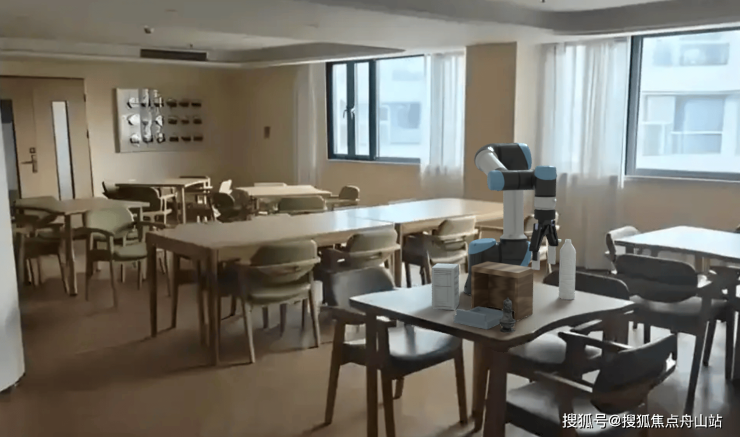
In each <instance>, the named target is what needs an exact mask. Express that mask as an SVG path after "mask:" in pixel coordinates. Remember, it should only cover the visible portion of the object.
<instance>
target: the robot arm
mask: <svg viewBox="0 0 740 437" xmlns="http://www.w3.org/2000/svg"><path fill="white" fill-rule="evenodd" d="M532 160H533V159H532V153H531V149H530V147H529V145H528V144H527V143H524V142H522V143H521V142H497V143H496V142H491V143H487V144H485V145H483V146H481V147H480V148H479V149H477V151H476V152H475V153H474V158H473V161H474V165H475V167H476V168H477V170H479V171H480V172H483V173H484V174H485V175H486V176H487V177H486V179H487V181H486V183H487V184H486V185H487V188H488V189H489V190H490V191H497V192H499V191H500V192H501V191H502V193H503V196H502V197H503V198H502V199H503V200H502V201H503V202H502V206H503V208H502V209H503V210H502V212H503V214H502V215H503V216H502V217H503V218H502V219H503V220H502V221H503V225H502V226H503V227H502V228H503V229H502V230H503V231H502V232H503V233H502V235H500V236H499V241H497V240H496V239H495V238H494V237H493V238H492V237H490V238H488V237H487V238H478V239H475V240H472V241H470V242H469V244H468V250H467V254H468V257H467V258H468V259H467V261H468V263H467V265H468V267H467V272H468V273H467V278H466V280H465V282H464V283H465V284H464V286H463V293H464V294H465V295H469V296H471V275H472V266H474V265H477V264H481V263H484V262H495V263H503V264H510V265H517V266H525V267H529V264H530V262H531V267H532V269H534V271H540V270H541V269H540V268H541V266H540V265H541V264H540V263H541V251H540V248H541V246H542V243H543V241H544V237H546V240H547V243H548V246H547V264H549V265H556V256H557V255H556V248H557V247H559V243H560V242H559V241H558V239H559V237H558V232H557V231H558V230H557V226H556V224H557V223H556V216H557V215H556V209H555V208H556V206H557V204H556V203H557V202H558V201H557V177H558V175H557V173H558V172H557V167H556V166H555V165H536V166H535V169H534V168H533V169H532V164H533V161H532ZM524 191H534V201H533V202H534V203H533V207H534V208H535V209H533V210H534V211H533V219H534V220H536V221H537V222H536V223H533V227H532V233H531V237H530V241H529V240H528V236H527V235H526V234H525V232H524V231H525V230H524V228H525V227H524V222H525V220H524V218H525V217H524V213H525V212H524V209H525V208H524V204H525V203H524V202H525V201H524V198H525V197H524V195H525V194H524V193H525V192H524Z"/></svg>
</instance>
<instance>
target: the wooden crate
mask: <svg viewBox="0 0 740 437" xmlns="http://www.w3.org/2000/svg"><path fill="white" fill-rule="evenodd" d="M534 271H535V270H534V269H532V266H531V267H530V266H527V267H525V266H517V265H510V264H503V263H495V262H484V263H481V264H477V265H474V266H472V275H471V295H470V296H471V298H470V309H473V308H475V307H478V306H479V307H485V308H489V307H490V308H493V309H495V308H496V309H498V310H499V309H500V310H502V309H503V302H504V300H506V299H507V297H508V298H509V300H511V302H512V310H513V311H512V312H514V318H513V319H514V320H517V321H520V320H522V319H525V318H526V316H527V317H529V316H531V315H533V314H534V311H533V307H534V273H535V272H534ZM517 321H516V322H517Z"/></svg>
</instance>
